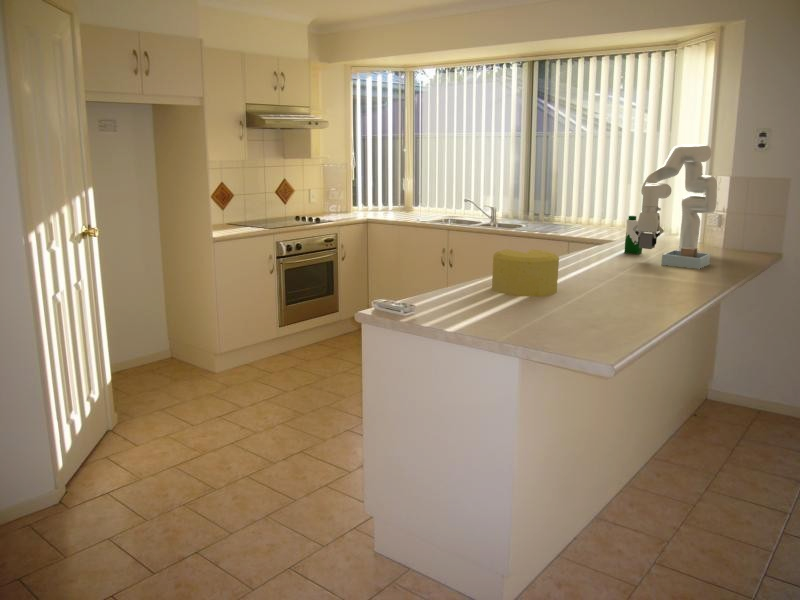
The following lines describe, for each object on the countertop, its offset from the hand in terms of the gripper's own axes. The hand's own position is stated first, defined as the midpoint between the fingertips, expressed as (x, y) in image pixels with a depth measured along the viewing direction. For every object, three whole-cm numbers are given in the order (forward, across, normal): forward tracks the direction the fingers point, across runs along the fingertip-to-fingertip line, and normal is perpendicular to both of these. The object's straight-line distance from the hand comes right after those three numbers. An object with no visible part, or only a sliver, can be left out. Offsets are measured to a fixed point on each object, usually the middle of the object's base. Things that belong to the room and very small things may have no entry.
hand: (646, 244), depth 349 cm
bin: (+9, -19, -3) cm, 21 cm away
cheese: (+5, +14, +104) cm, 105 cm away
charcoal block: (+2, 0, 0) cm, 2 cm away
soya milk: (+9, +14, -22) cm, 28 cm away
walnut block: (+8, -19, -7) cm, 22 cm away
